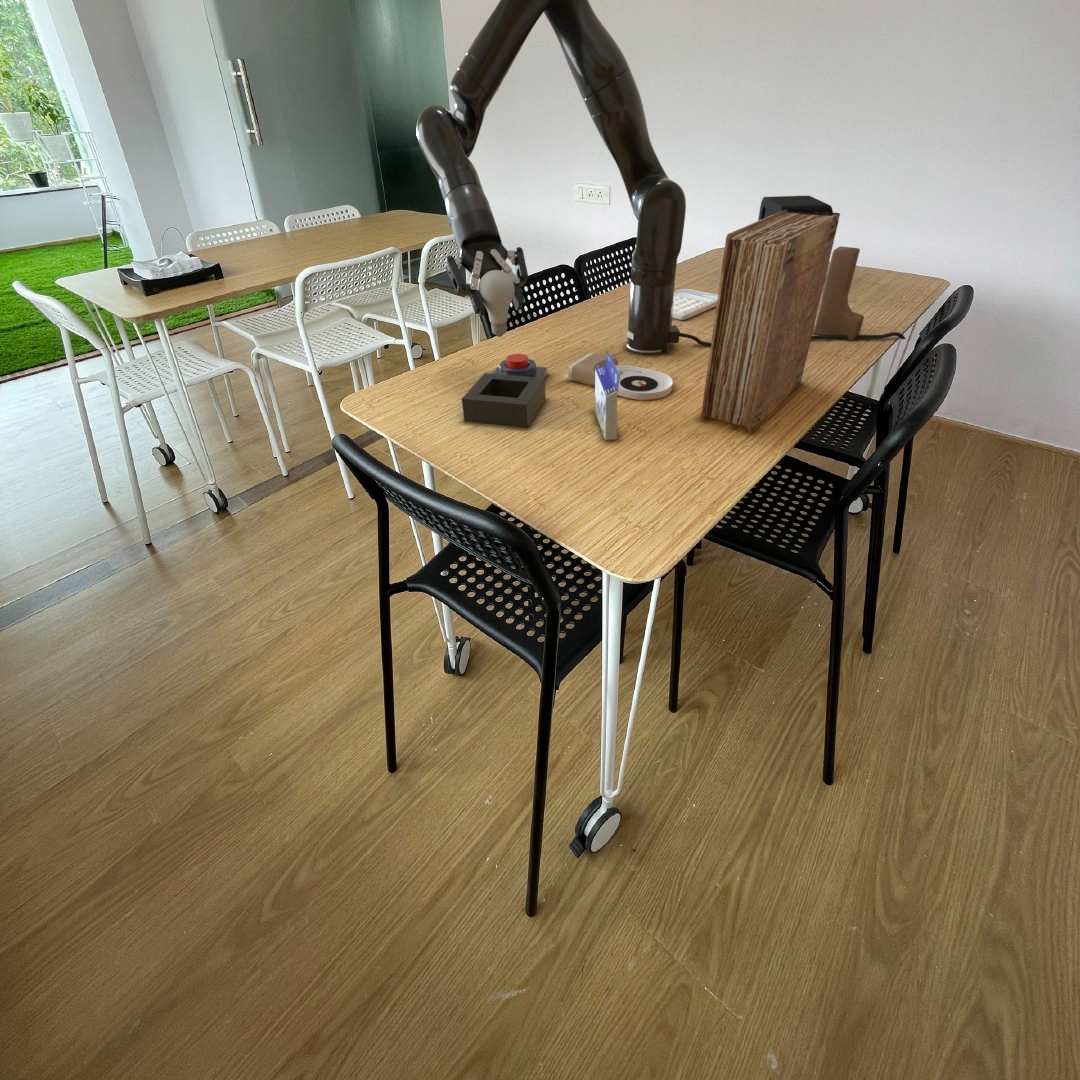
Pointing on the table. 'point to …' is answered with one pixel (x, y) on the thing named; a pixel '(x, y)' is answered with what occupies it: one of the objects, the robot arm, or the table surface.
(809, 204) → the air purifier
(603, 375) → the ink box
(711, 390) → the book
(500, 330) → the lightbulb
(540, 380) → the socket
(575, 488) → the table surface
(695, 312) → the calculator
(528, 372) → the switch
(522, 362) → the button
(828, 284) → the wooden block
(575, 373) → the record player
